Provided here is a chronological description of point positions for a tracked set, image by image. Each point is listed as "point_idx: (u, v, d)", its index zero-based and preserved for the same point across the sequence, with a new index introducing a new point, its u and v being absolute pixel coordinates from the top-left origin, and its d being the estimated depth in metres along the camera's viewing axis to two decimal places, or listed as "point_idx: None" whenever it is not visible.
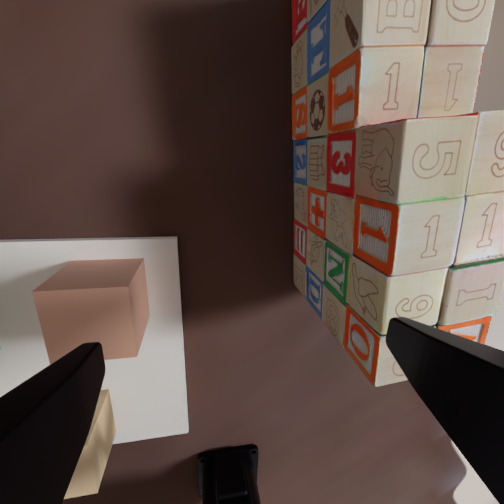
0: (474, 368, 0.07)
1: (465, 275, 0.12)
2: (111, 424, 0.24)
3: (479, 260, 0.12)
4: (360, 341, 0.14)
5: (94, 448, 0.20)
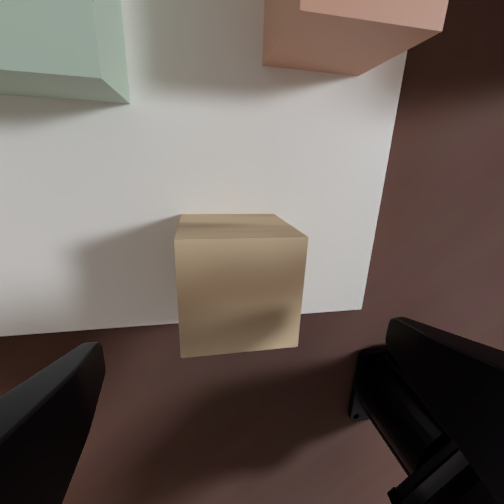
0: (473, 368, 0.07)
1: None
2: None
3: None
4: None
5: None
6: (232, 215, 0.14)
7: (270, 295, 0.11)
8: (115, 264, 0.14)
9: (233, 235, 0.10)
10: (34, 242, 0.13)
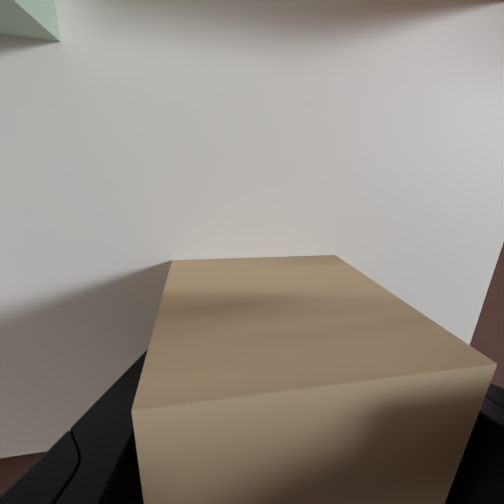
0: None
1: None
2: None
3: None
4: None
5: None
6: (265, 262, 0.08)
7: (382, 493, 0.04)
8: (51, 351, 0.08)
9: (299, 359, 0.04)
10: None
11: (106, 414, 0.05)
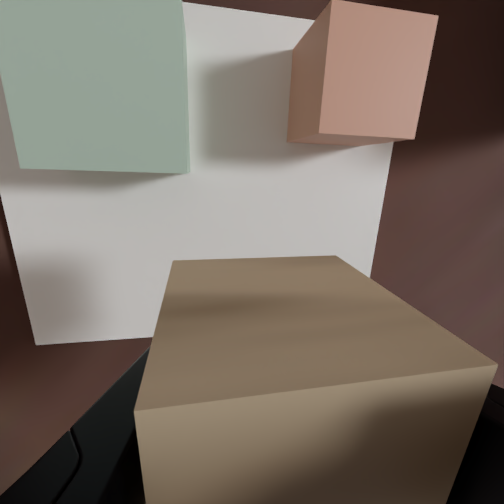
0: None
1: None
2: None
3: None
4: None
5: None
6: (266, 262, 0.08)
7: (383, 494, 0.04)
8: None
9: (300, 360, 0.04)
10: (114, 271, 0.18)
11: (106, 414, 0.05)
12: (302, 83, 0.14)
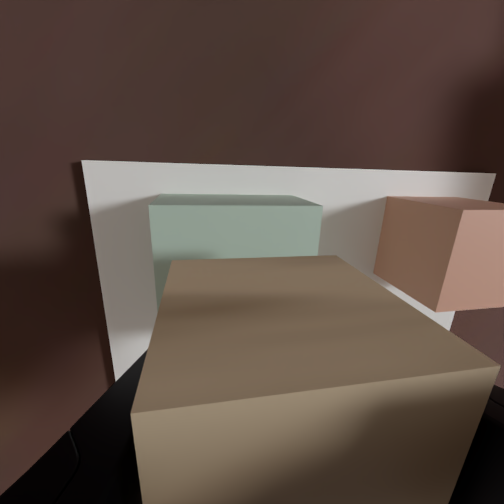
0: None
1: None
2: None
3: None
4: None
5: None
6: (265, 262, 0.08)
7: (384, 497, 0.04)
8: None
9: (300, 361, 0.04)
10: None
11: (106, 414, 0.05)
12: (405, 242, 0.15)
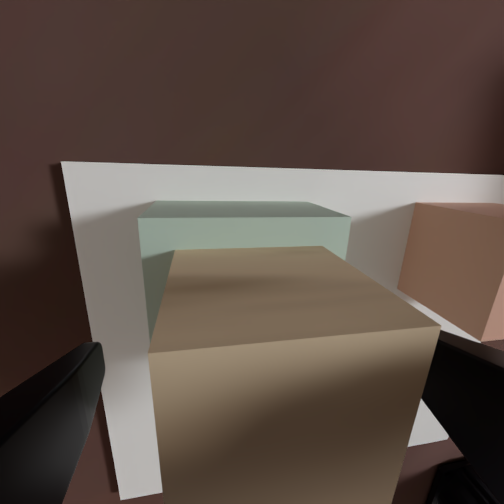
0: (474, 368, 0.07)
1: None
2: None
3: None
4: None
5: None
6: (258, 251, 0.09)
7: (351, 436, 0.05)
8: None
9: (280, 321, 0.05)
10: None
11: None
12: (439, 256, 0.13)
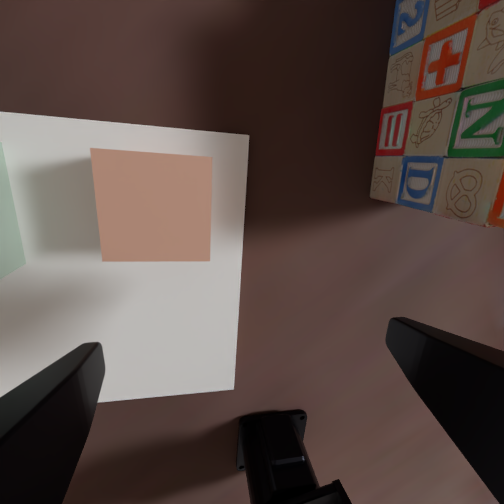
0: (474, 368, 0.07)
1: None
2: None
3: None
4: None
5: None
6: None
7: None
8: (22, 366, 0.19)
9: None
10: None
11: None
12: None
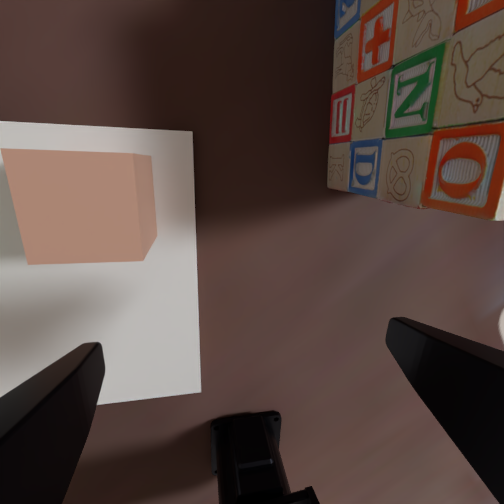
0: (473, 368, 0.07)
1: None
2: None
3: None
4: (461, 169, 0.10)
5: None
6: None
7: None
8: None
9: None
10: None
11: None
12: None
